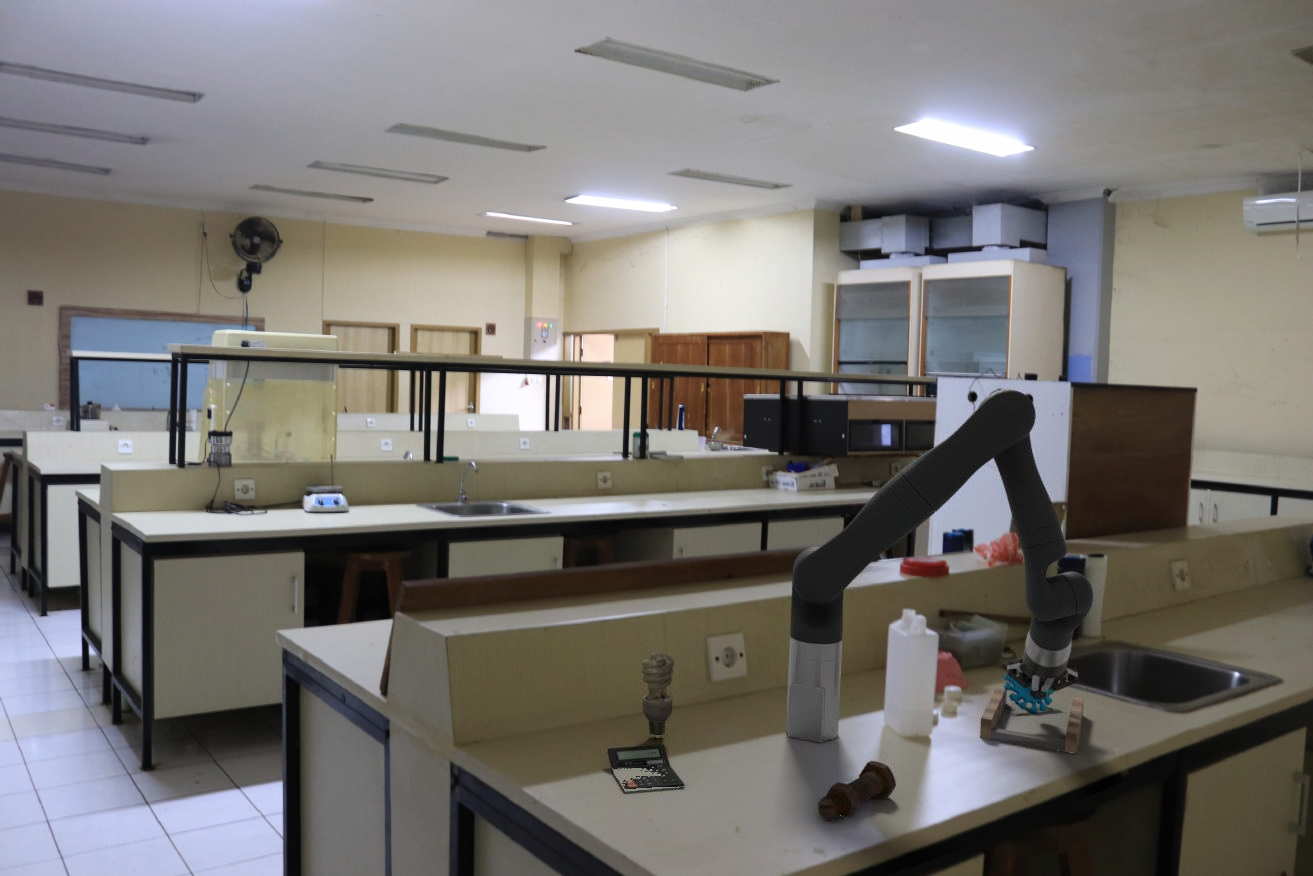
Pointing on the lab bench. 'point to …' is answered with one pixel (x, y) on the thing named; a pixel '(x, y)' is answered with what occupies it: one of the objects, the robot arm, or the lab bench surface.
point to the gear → (1026, 696)
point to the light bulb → (657, 691)
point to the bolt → (857, 791)
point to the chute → (1068, 745)
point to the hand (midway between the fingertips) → (1037, 695)
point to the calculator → (645, 765)
